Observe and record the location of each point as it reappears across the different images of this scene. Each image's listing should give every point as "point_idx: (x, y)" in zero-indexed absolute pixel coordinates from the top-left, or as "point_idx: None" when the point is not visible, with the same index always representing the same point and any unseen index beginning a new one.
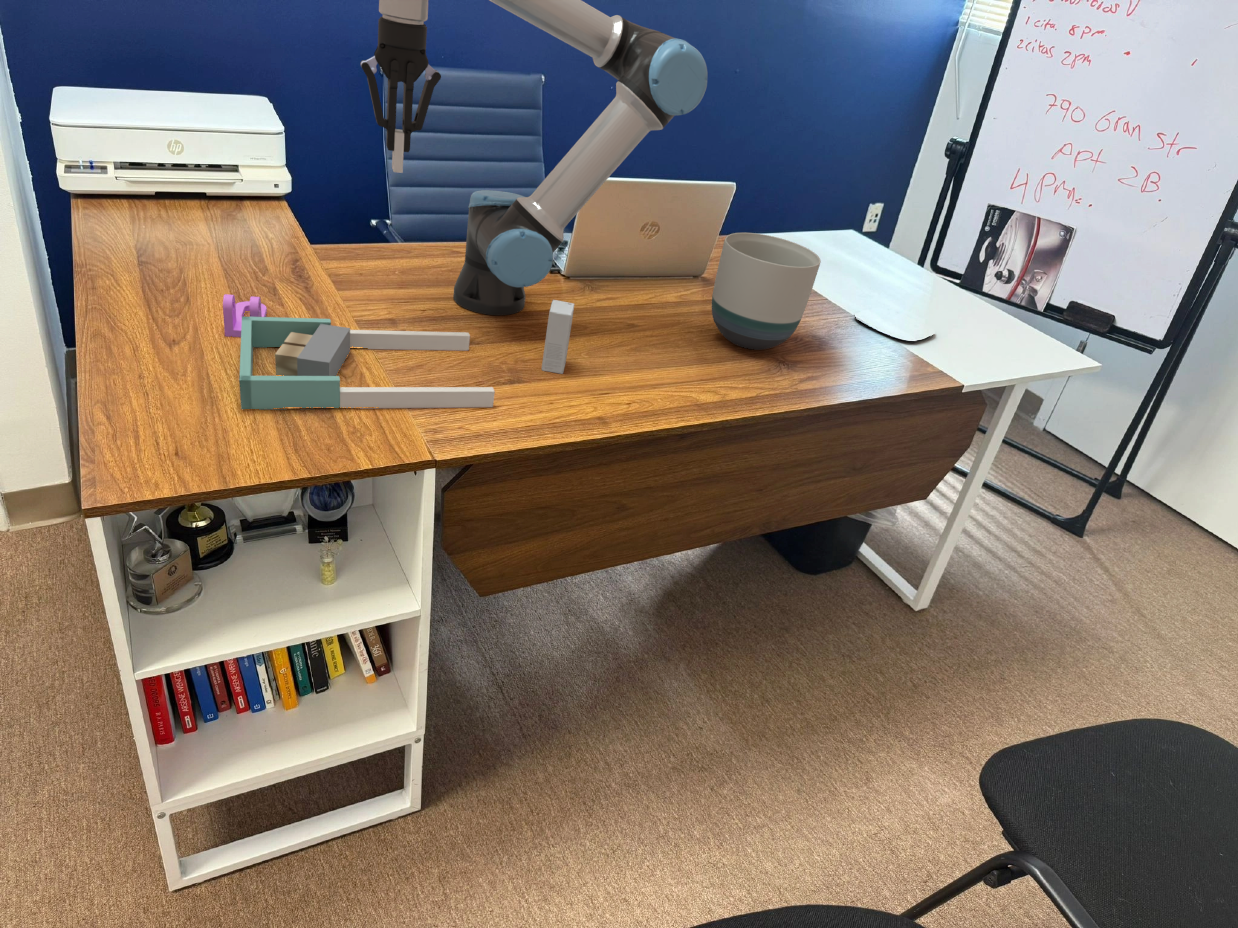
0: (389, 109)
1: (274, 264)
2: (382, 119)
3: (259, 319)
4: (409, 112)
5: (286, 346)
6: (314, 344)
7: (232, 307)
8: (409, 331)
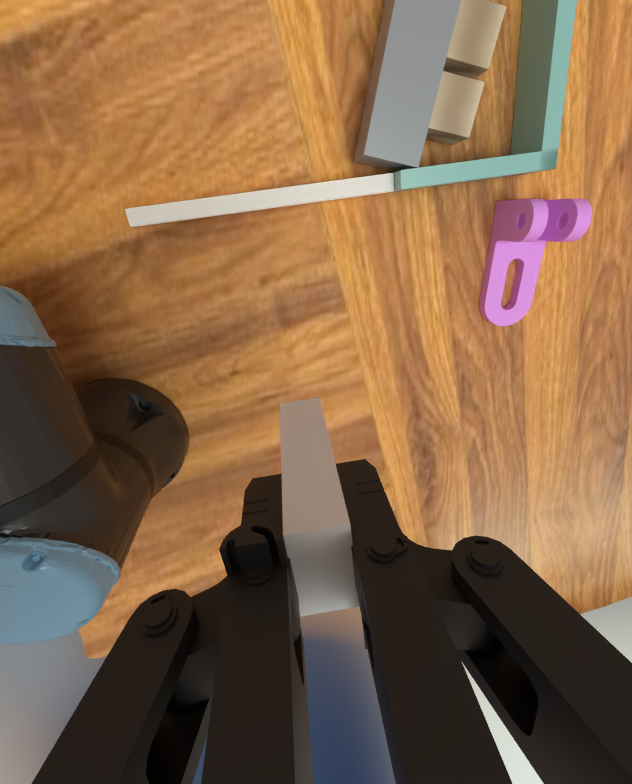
0: (475, 713)
1: (457, 481)
2: (488, 589)
3: (527, 158)
4: (237, 749)
5: (482, 55)
6: (435, 44)
7: (567, 206)
8: (248, 209)
